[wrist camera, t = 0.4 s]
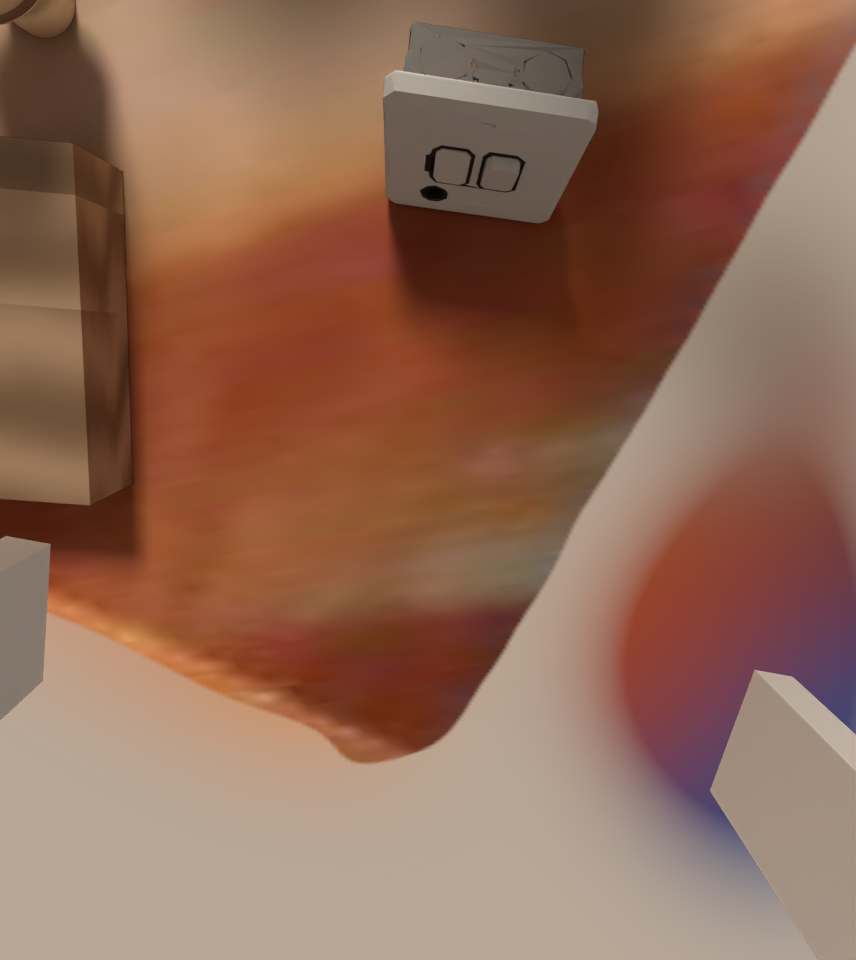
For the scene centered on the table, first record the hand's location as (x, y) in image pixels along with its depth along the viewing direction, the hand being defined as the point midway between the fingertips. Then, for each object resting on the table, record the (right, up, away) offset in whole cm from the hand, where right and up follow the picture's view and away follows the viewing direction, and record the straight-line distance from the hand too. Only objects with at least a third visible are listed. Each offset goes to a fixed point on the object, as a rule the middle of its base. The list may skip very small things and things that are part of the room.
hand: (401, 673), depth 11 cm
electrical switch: (+3, +22, +23) cm, 31 cm away
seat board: (-24, +13, +24) cm, 37 cm away
